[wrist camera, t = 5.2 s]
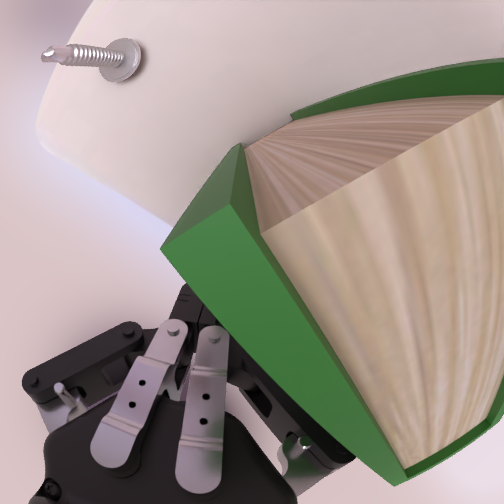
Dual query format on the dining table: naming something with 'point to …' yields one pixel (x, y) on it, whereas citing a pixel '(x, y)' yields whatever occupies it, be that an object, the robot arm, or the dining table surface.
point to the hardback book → (368, 261)
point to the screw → (99, 58)
